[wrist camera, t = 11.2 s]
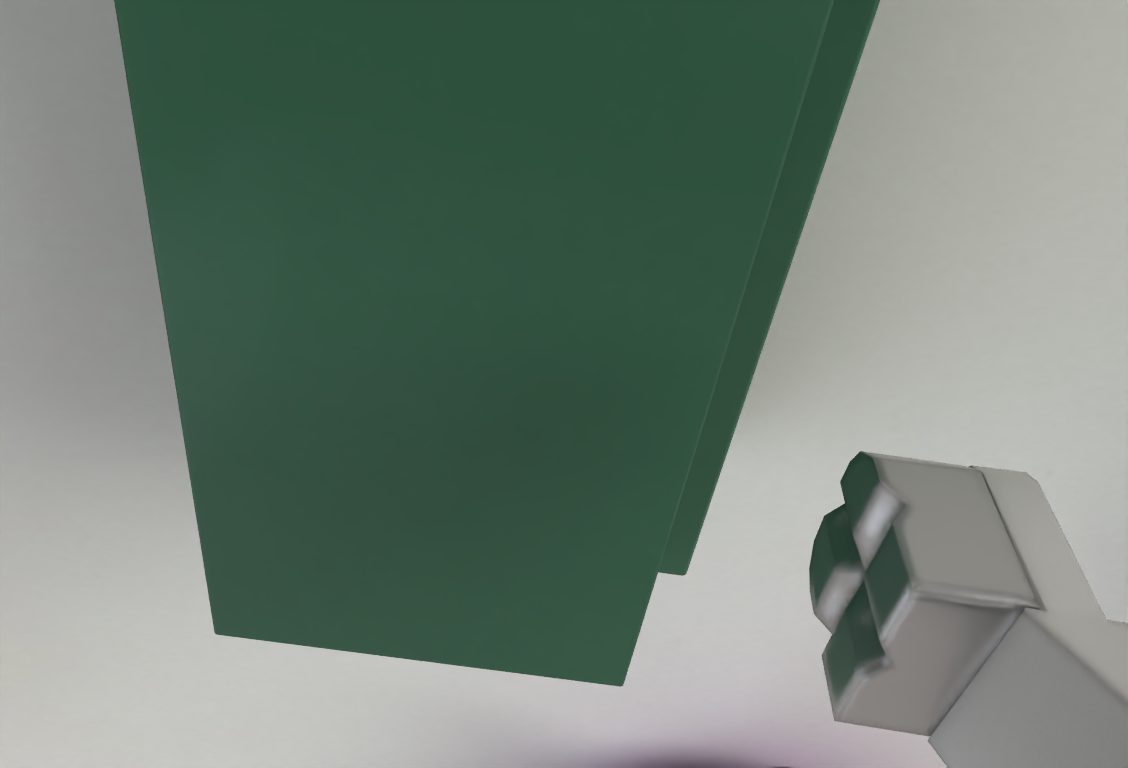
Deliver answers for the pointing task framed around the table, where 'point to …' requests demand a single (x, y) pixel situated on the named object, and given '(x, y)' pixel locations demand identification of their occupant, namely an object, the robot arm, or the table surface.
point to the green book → (453, 300)
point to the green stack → (771, 264)
